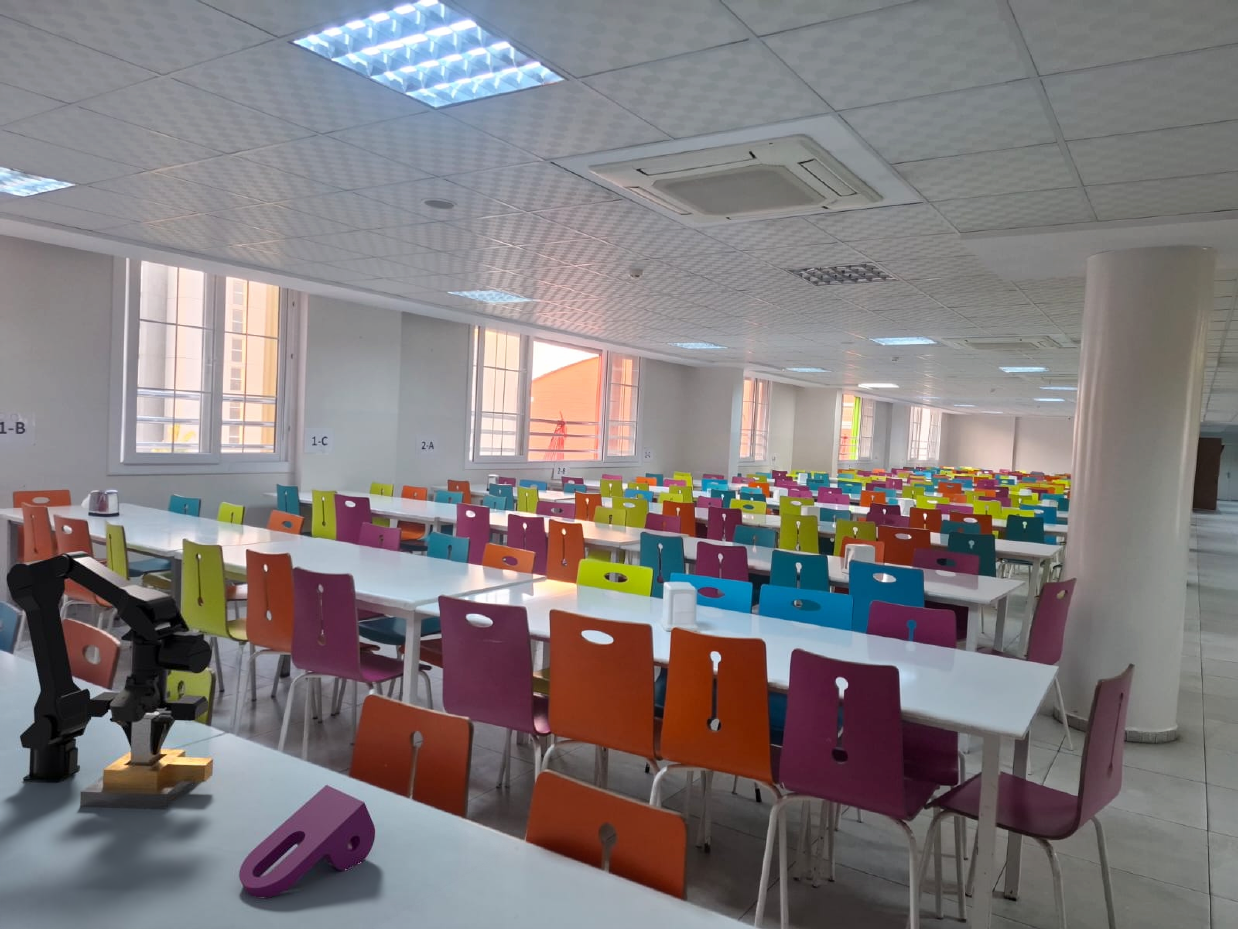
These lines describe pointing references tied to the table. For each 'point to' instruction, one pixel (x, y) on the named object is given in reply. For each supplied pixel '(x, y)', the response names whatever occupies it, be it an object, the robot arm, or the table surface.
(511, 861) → the table surface
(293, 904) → the table surface
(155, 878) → the table surface
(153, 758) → the grey rectangular block
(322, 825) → the mounting bracket
